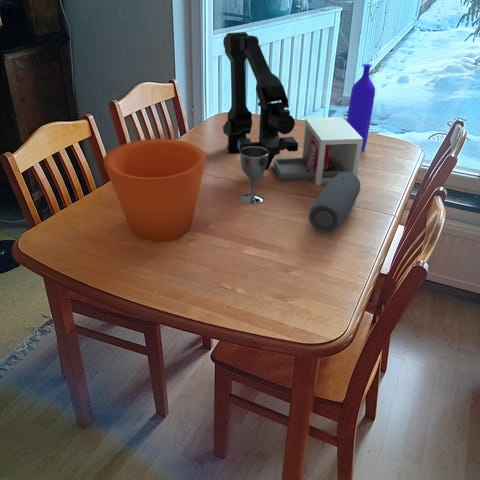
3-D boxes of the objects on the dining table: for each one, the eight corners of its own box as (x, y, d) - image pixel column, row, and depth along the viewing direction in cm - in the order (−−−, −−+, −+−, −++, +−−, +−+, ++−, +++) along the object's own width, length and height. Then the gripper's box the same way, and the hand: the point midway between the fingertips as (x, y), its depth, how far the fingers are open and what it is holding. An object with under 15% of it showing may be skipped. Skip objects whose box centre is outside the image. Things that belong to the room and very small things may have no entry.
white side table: (316, 185, 151) (321, 140, 143) (301, 159, 168) (305, 118, 159) (355, 183, 153) (363, 138, 144) (336, 158, 169) (342, 117, 161)
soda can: (326, 178, 156) (330, 143, 149) (304, 175, 157) (308, 140, 150) (327, 169, 161) (332, 135, 155) (306, 166, 163) (310, 133, 156)
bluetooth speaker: (328, 196, 145) (333, 166, 139) (359, 203, 141) (364, 173, 136) (304, 232, 127) (308, 199, 122) (338, 241, 124) (343, 207, 119)
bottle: (367, 146, 179) (382, 63, 163) (362, 153, 173) (377, 68, 157) (346, 142, 182) (358, 60, 166) (340, 149, 176) (352, 65, 160)
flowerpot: (187, 259, 116) (184, 186, 105) (95, 242, 121) (83, 171, 110) (219, 211, 136) (219, 145, 125) (139, 198, 141) (132, 134, 130)
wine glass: (269, 195, 145) (271, 148, 136) (261, 207, 138) (263, 159, 130) (244, 190, 147) (245, 144, 139) (235, 202, 140) (236, 154, 132)
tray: (280, 180, 153) (280, 173, 152) (273, 165, 163) (273, 158, 162) (340, 178, 155) (341, 171, 154) (330, 163, 165) (331, 156, 164)
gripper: (243, 133, 140) (242, 181, 149) (304, 131, 143) (300, 178, 151) (237, 121, 150) (236, 166, 158) (295, 119, 152) (291, 164, 161)
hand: (266, 169), depth 157 cm, fingers closed
